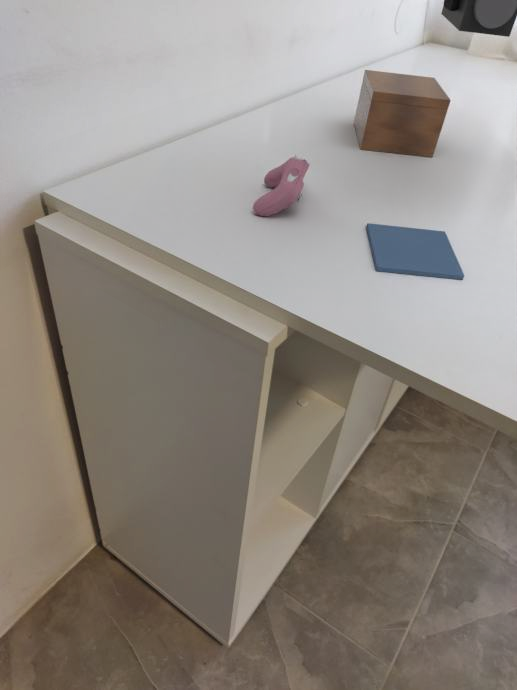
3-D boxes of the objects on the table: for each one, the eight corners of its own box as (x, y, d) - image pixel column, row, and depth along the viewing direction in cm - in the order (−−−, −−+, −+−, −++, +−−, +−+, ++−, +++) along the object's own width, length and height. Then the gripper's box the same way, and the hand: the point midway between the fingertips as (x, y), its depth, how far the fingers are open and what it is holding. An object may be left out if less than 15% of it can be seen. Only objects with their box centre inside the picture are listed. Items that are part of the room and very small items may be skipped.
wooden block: (419, 131, 97) (434, 77, 91) (432, 157, 88) (450, 100, 82) (353, 123, 96) (364, 69, 90) (360, 149, 87) (373, 91, 81)
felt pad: (443, 235, 68) (445, 231, 68) (462, 280, 61) (464, 275, 60) (365, 227, 68) (367, 222, 67) (375, 271, 60) (377, 266, 60)
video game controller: (278, 232, 68) (311, 190, 63) (248, 212, 67) (279, 168, 62) (289, 198, 75) (318, 158, 71) (262, 179, 74) (290, 138, 70)
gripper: (651, -246, 43) (549, 14, 55) (443, -275, 43) (386, -5, 55) (705, -264, 37) (578, 30, 49) (467, -297, 37) (396, 8, 49)
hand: (478, 9), depth 52 cm, fingers closed on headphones, 4 cm apart
